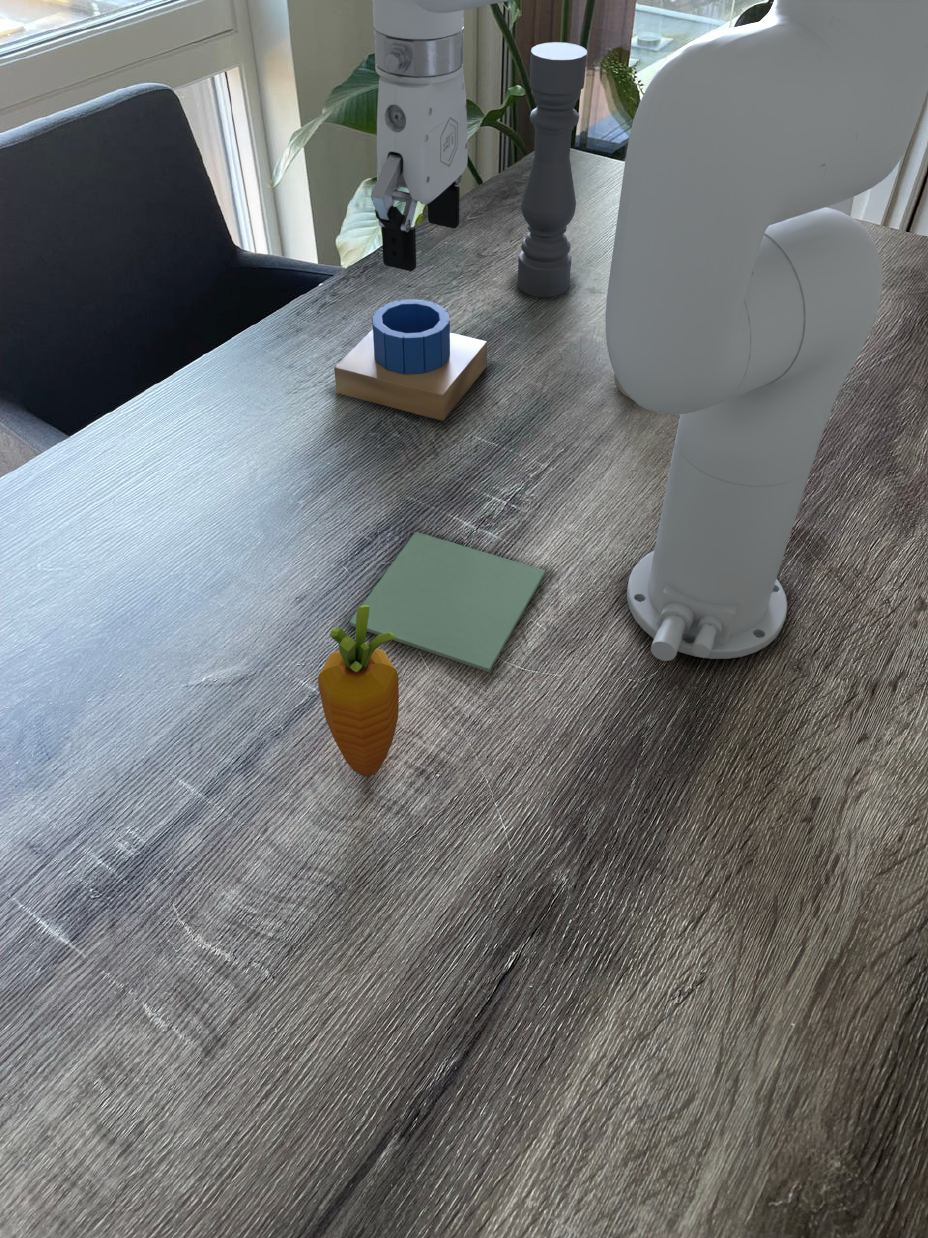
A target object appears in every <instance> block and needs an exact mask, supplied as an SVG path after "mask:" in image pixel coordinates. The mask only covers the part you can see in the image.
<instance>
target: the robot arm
mask: <svg viewBox="0 0 928 1238" xmlns="http://www.w3.org/2000/svg"><path fill="white" fill-rule="evenodd" d="M512 1H514V0H371V3H372V23H373V24H372V25H373V26H372V27H373V43H374V66H375V67H374V68H375V72H376V74H377V75H378V76H379V79H378V90H377V110H376V165H377V180H376V181H375V183H374V186H373V188H372V189H371V194H370V198H371V201H372V204H373V207H374V213H375V217H376V219H378V225H379V226H378V227H381V242H382V243H381V244H382V246H381V247H382V260H383V261H382V262H383V264H384V265H385V266H386V267H391V268H394V269H398V270H404V271H407V272H413V271H414V270H415V269H416V268H417V238H416V237H417V235H416V227H412V224H413V221H414V216H415V213H416V209H417V205H418V202H419V203H420V204H421V205H427V221H428V223H430V224H431V225H435V226H436V225H437V226H441V227H444V228H449V229H456V228H458V226H459V225H460V197H461V196H460V195H461V194H460V193H461V192H460V191H461V190H460V188H461V187H460V186H459V185H460V184H461V182H462V174H463V173H464V172H465V170H466V168H467V166H468V163H469V162H468V160H469V159H468V157H469V156H468V153H469V150H468V149H469V148H468V146H469V144H468V143H469V141H468V114H467V113H468V112H467V111H468V110H467V93H466V82H465V75H464V41H465V40H464V39H465V38H464V37H465V36H464V35H465V27H464V26H465V11H466V10H467V11H468V10H473V9H477V8H483V7H486V6H489V5H494V4H500V3H506V2H512ZM927 94H928V0H773V2H772V5H771V8H770V9H769V11H768V13H767V14H766V15H765V16H764V17H763V18H762V19H761V20H760V21H758V22H753V23H748V24H744V25H740V26H735V27H730V28H726V29H723V30H719V31H715V32H712V33H708V34H706V35H704V36H702V37H699V38H697V39H695V40H692V41H690V42H688V43H687V44H686V45H684V46H682V47H681V48H679V49H678V50H677V51H676V52H674V53H673V54H672V55H671V56H669V58H668V59H666V60H665V62H664V63H663V64H662V65H661V66H660V68H659V69H658V70H657V72H656V73H655V74H654V76H653V77H652V79H651V80H650V82H649V84H648V85H647V87H646V88H645V91H644V93H643V95H642V97H641V99H640V100H639V104H638V106H637V107H636V111H635V114H634V116H633V120H632V124H631V127H630V132H629V136H628V143H627V148H626V154H625V160H624V166H623V172H622V173H623V174H622V182H621V190H620V195H619V205H618V211H617V212H618V213H617V217H616V218H617V219H616V225H615V234H614V240H613V247H612V255H611V261H610V262H611V263H610V270H609V276H608V277H609V278H608V285H607V292H606V293H607V294H606V303H605V339H606V347H607V354H608V357H609V361H610V364H611V367H612V370H613V372H614V373H615V375H616V377H617V379H618V381H619V383H620V385H621V386H622V388H623V389H624V391H625V392H626V393H627V394H628V395H629V397H630V398H631V399H630V398H629V399H630V400H631V401H634V403H636V404H637V405H638V406H640V407H641V408H643V409H645V410H648V411H650V412H653V413H656V414H659V415H665V416H666V415H667V416H678V415H679V420H678V425H677V426H678V427H677V430H676V435H675V438H674V444H673V450H672V456H671V460H670V466H669V469H668V470H669V471H668V477H667V480H666V486H665V491H664V492H665V493H664V497H663V502H662V507H661V513H660V518H659V522H658V529H657V534H656V539H655V545H654V549H653V550H652V551H650V552H648V553H647V554H646V555H644V557H642V558H641V559H640V560H639V561H638V562H637V563H636V564H635V566H634V567H633V569H632V570H631V573H630V575H629V578H628V583H627V587H626V590H627V591H626V600H627V604H628V605H627V606H628V609H629V611H630V613H631V615H632V617H633V618H634V621H635V622H636V623H637V624H638V625H639V626H640V628H641V629H642V630H643V631H644V632H645V633H646V634H648V635H649V636H650V637H651V638H652V639H653V641H652V643H651V645H650V652H651V654H652V655H653V656H654V657H655V658H656V659H658V660H661V661H663V662H664V661H665V662H670V661H672V660H674V659H675V658H676V656H677V654H678V652H679V653H681V654H685V655H688V656H692V657H697V658H701V659H702V658H703V659H711V660H720V659H721V660H729V659H735V658H741V657H742V658H743V657H745V656H749V655H751V654H754V653H757V652H759V651H760V650H763V649H764V648H766V647H768V645H770V644H771V643H772V642H773V641H774V640H776V638H777V637H778V636H779V634H780V632H781V631H782V629H783V626H784V624H785V621H786V618H787V612H788V600H787V595H786V592H785V590H784V588H783V585H782V584H781V583H780V581H779V580H778V575H779V572H780V569H781V566H782V563H783V560H784V557H785V554H786V550H787V547H788V543H789V539H790V537H791V535H792V531H793V527H794V525H795V521H796V519H797V515H798V512H799V509H800V505H801V503H802V499H803V496H804V493H805V490H806V486H807V483H808V480H809V477H810V474H811V471H812V467H813V465H814V463H815V459H816V456H817V453H818V450H819V447H820V445H821V441H822V438H823V435H824V431H825V429H826V427H827V423H828V420H829V418H830V415H831V413H832V410H833V407H834V405H835V403H836V400H837V398H838V397H839V394H840V391H842V390H841V389H842V388H843V386H844V384H845V382H846V379H847V378H848V376H849V374H850V372H851V370H852V368H853V367H854V366H855V363H856V362H857V359H858V358H859V356H860V353H861V352H862V350H863V348H864V346H865V344H866V343H867V340H868V338H869V336H870V334H871V331H872V328H873V327H874V324H875V321H876V318H877V314H878V311H879V308H880V305H881V299H882V293H883V281H884V280H883V278H884V277H883V266H882V262H881V257H880V253H879V251H878V248H877V246H876V244H875V242H874V240H873V238H872V236H871V235H870V232H868V231H867V229H866V228H865V227H864V226H863V225H862V224H861V223H860V222H859V221H857V220H856V219H855V218H853V217H852V216H851V215H850V216H848V215H846V214H844V213H843V212H840V211H838V210H835V209H831V208H826V207H827V206H830V205H833V204H836V203H839V202H842V201H844V200H847V199H849V198H852V197H854V198H855V197H856V196H858V195H861V194H863V193H865V192H867V191H868V190H871V189H873V188H874V187H875V186H877V185H879V184H880V183H881V182H882V181H884V180H885V179H887V178H888V176H889V175H890V174H891V173H892V172H893V171H894V169H895V168H896V167H897V165H898V164H899V162H900V161H901V160H902V159H903V156H904V154H905V153H906V150H907V148H908V147H909V144H910V142H911V139H912V136H913V134H914V132H915V129H916V126H917V124H918V122H919V121H918V120H919V118H920V115H921V112H922V109H923V106H924V104H925V100H926V97H927ZM401 188H404V189H405V188H406V189H407V190H408V192H407V191H403V190H400V189H401ZM395 201H398V202H403V203H405V205H404V209H403V212H401V211H400V209H399V208H398V207H397V206H394V205H395Z"/></svg>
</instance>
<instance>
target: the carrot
mask: <svg viewBox="0 0 928 1238" xmlns="http://www.w3.org/2000/svg"><path fill="white" fill-rule="evenodd" d="M361 605H362V604H361ZM361 605H358V607H357V610H356V612H357V617H356V628H355V637H354V638H352V637H351V636H349V635H348V634H347V633H346V631H344V630H343V629H342V628H341V627H339V626H336V627H333V628H332V629H331V630H330V633H329V637H330V638H332V639H333V640H334V641H335V642H337V643H338V650H337V651H334V652H331V653H330V654H329V655H328V658H326V661H325V663H324V665H323V666H322V669H320V670H321V671H320V672H319V673H318V676H317V677H318V678H317V683H318V684H317V685H318V690H319V697H320V700H321V701H320V702H321V705H322V709H323V713H324V714H323V715H324V717H325V721H326V725H327V726H328V729H329V731H330V734H331V736H332V737H333V741H334V742H335V744H336V747H337V749H338V750H339V751H340V753H341V756H342V757H343V759H344V761H345V762H346V764H347V765H348V766H349V767H350V768H351V770H353V771H354V772H355V773H357V774H358V775H360V776H362V777H365V778H369V777H372V776H374V775H376V774H377V773H378V771H380V769H381V768H382V766H383V764H384V762H385V761H386V758H387V756H388V754H389V752H390V750H391V747H392V744H393V742H394V737H395V734H396V729H397V725H398V721H399V711H400V709H399V707H400V686H399V685H400V683H399V682H400V680H399V673H398V671H397V670H396V668H395V666H394V664H393V663H392V661H391V660H390V658H389V657H388V655H387V653H386V652H385V651H384V649H380V648H379V647H380V646H381V645H383V644H384V643H388V642H390V641H394V640H393V639H395V638H396V637H395V636H394V634H393V633H392V632H387V633H383V634H381V635H376V636H375V637H374V638H373V639H372V640H371V641H370V642H369V643H366V637H367V625H368V618H369V608H370V607H369V606H368V605H362V606H361ZM354 639H355V640H354Z"/></svg>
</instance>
